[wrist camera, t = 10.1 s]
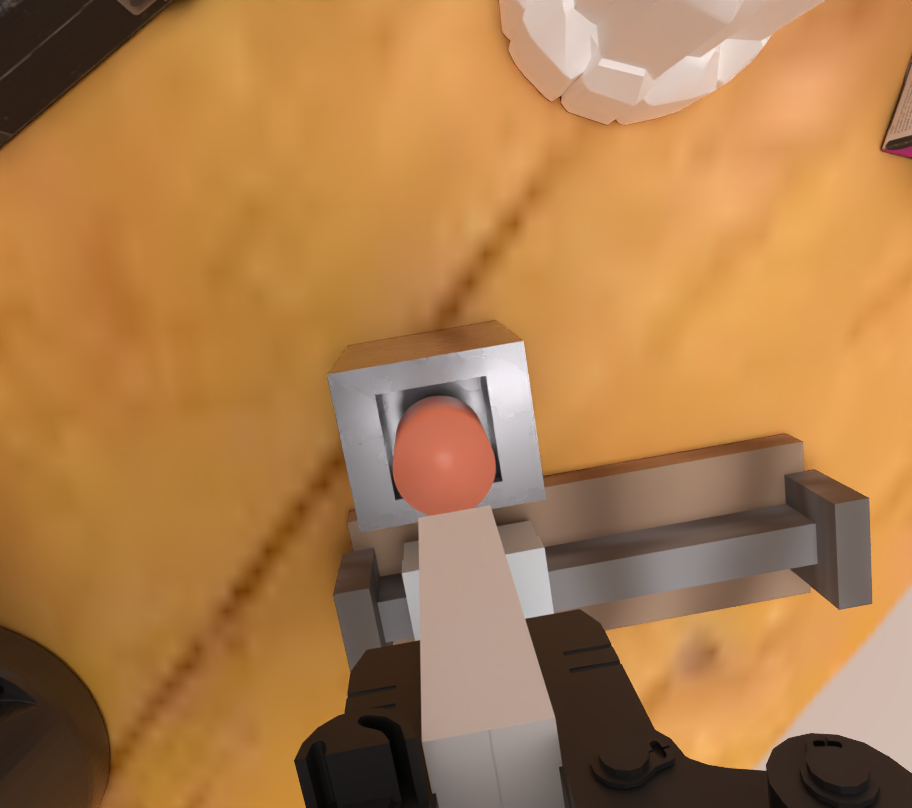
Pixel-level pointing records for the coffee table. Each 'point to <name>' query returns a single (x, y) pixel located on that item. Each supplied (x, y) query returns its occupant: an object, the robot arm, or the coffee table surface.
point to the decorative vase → (638, 50)
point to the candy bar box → (901, 121)
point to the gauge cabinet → (424, 375)
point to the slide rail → (652, 541)
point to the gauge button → (442, 456)
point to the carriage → (523, 563)
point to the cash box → (57, 49)
